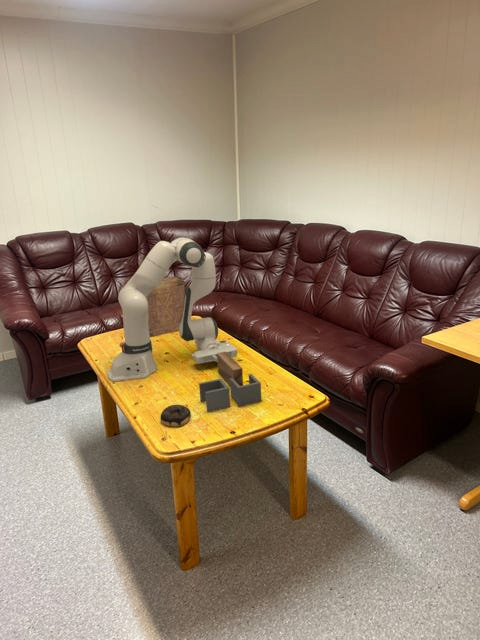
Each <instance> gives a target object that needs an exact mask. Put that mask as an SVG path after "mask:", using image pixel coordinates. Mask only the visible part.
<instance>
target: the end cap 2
mask: <svg viewBox="0 0 480 640" xmlns="http://www.w3.org/2000/svg"><path fill="white" fill-rule="evenodd" d="M229 392H230V398H231V399H232V400H233V401H234V402H235V404H236V405H238V407H244V406H247V405H251V404H256V403H260V402H262V383H261V382H260V380H258V378H257V377H255V376H254V375H253V374H252V373H249V374H248V383H247V384H243V385H242V386H240V385H239V384H238V383H237V382H236V381H235V380H234V379H233V378H230V386H229Z"/></svg>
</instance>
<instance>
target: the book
mask: <svg viewBox="0 0 480 640" xmlns="http://www.w3.org/2000/svg"><path fill="white" fill-rule="evenodd" d="M185 291H186V289H185V279H184V278H183V277H180V276H178V275H176V276H170V277H169V276H168V277H163V279H162V280H161V282H160V283H159V285H158V286H157V287H156V288H154V289H153V290H152V291H151V292H150V293H149V295H148V296H147V297H146V299H147V301H148V326H149V335H150V338H154V337H159V336H162V335H168V334H171V333H175V332H179V326H180V321H181V316H182V309H183V301H184V295H185Z"/></svg>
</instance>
